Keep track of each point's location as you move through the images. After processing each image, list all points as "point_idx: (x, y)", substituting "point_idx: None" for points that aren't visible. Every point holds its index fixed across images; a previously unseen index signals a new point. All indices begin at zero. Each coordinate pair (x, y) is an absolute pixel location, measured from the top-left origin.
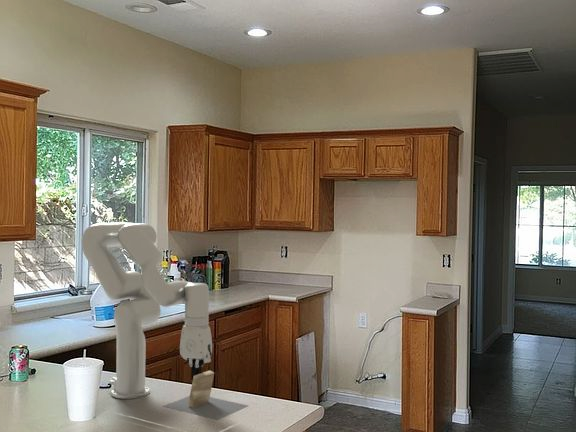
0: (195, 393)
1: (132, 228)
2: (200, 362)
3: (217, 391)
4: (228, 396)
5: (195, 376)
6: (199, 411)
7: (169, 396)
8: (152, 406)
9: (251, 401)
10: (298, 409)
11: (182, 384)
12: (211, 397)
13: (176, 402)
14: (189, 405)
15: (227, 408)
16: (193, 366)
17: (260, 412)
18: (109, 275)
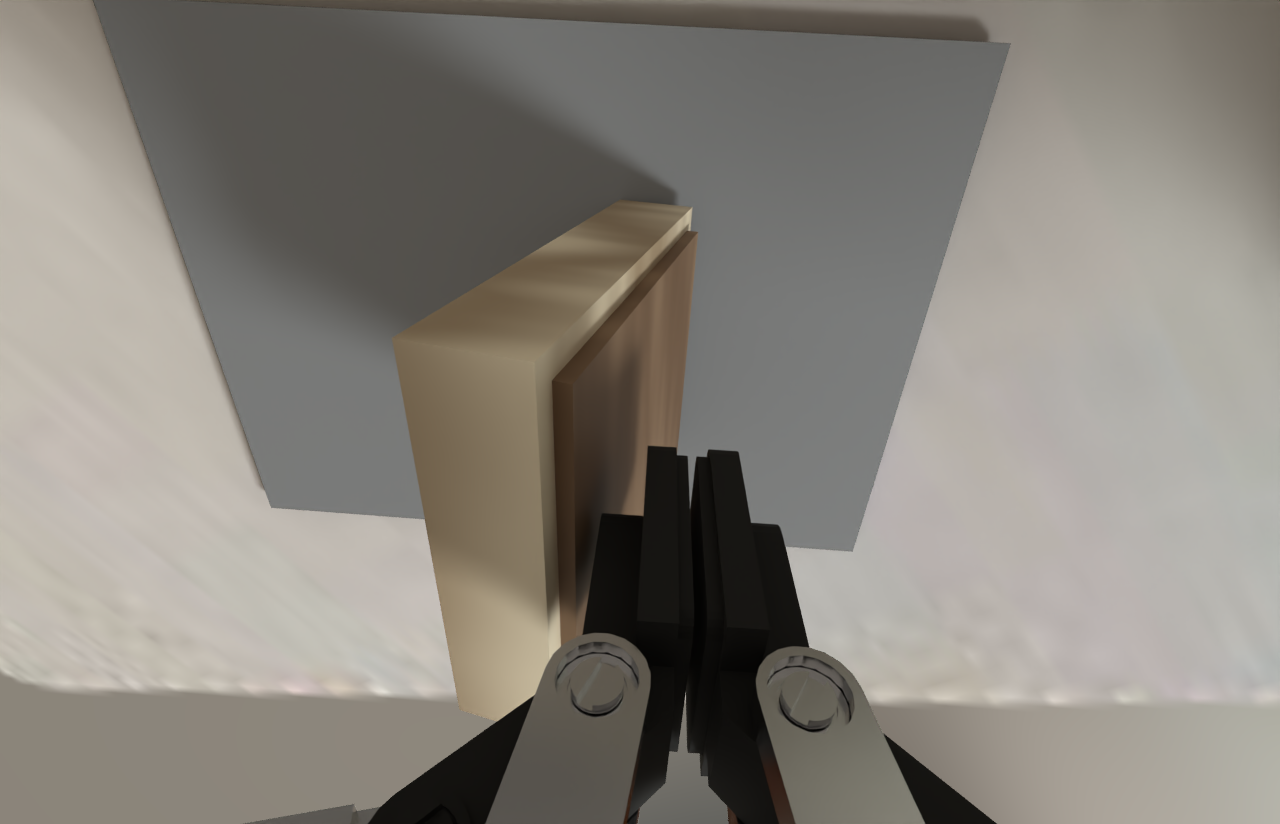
0: (549, 242)
1: None
2: (468, 811)
3: None
4: None
5: (491, 365)
6: (479, 140)
7: (1082, 425)
8: (1165, 27)
9: (379, 603)
10: (27, 603)
11: (1086, 687)
12: None
13: (900, 266)
14: (668, 206)
15: (335, 370)
16: (745, 681)
17: (122, 450)
18: None
